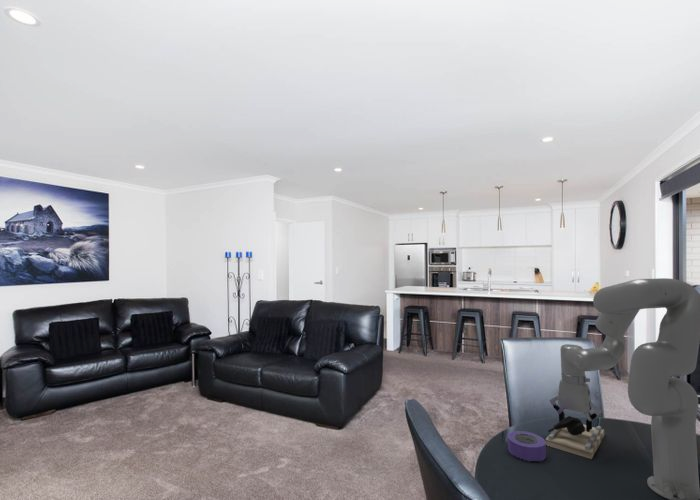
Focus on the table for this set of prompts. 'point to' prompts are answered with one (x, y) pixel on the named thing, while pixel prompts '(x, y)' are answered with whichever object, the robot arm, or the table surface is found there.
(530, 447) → the tape roll
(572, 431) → the black tapered curved piece
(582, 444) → the board
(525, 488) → the table surface
